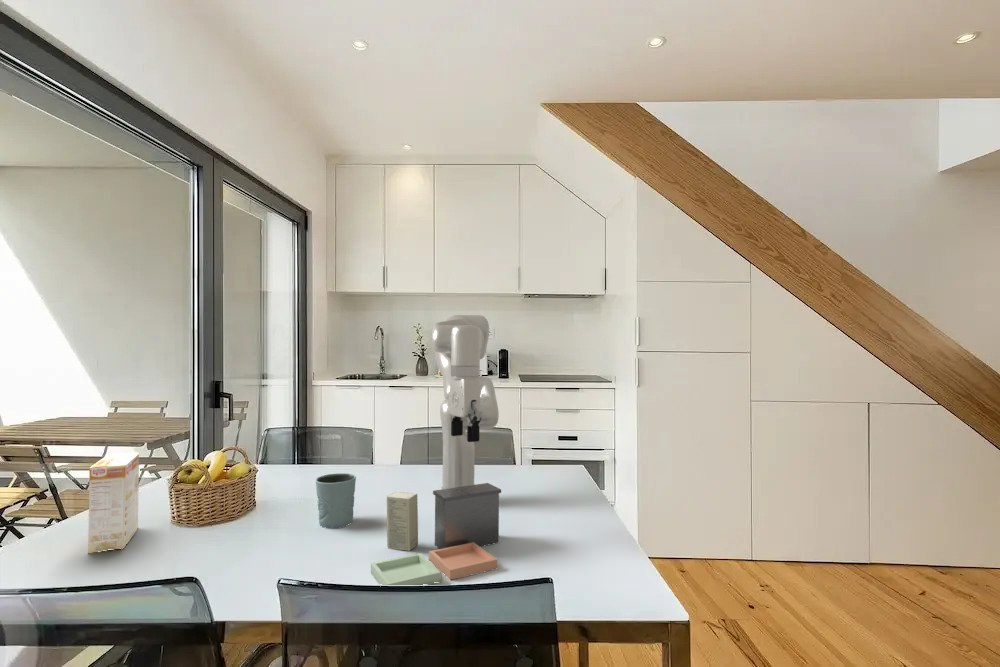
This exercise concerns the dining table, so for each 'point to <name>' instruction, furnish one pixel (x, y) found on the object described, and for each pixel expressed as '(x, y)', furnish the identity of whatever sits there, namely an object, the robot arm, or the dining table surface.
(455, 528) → the charcoal unit
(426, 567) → the sage tray
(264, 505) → the dining table surface
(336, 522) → the grey-green cup
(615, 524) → the dining table surface
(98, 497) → the coffeecake box
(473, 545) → the terracotta tray
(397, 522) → the skincare box
